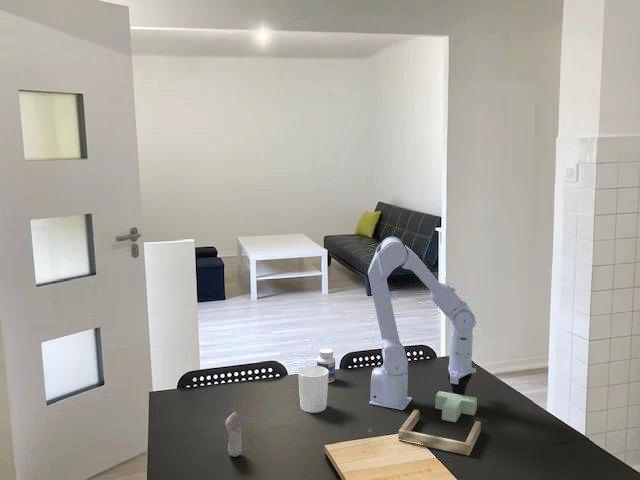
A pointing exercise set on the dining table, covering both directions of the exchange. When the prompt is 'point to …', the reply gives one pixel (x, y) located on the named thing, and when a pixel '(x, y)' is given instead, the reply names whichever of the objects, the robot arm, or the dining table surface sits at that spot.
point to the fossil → (234, 434)
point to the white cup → (313, 388)
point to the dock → (435, 441)
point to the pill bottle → (327, 363)
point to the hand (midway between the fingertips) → (458, 400)
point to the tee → (455, 405)
